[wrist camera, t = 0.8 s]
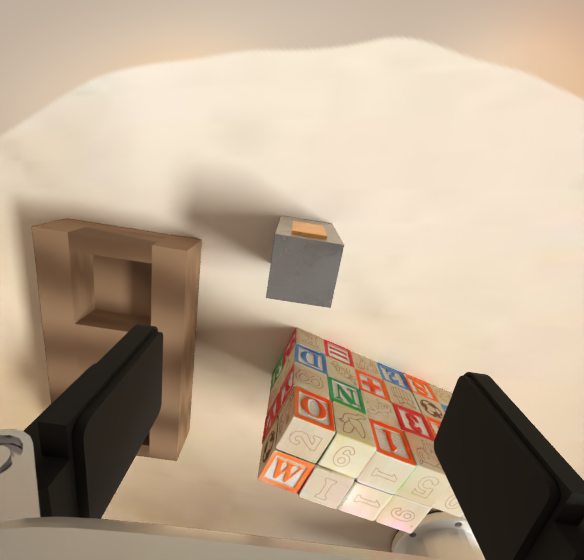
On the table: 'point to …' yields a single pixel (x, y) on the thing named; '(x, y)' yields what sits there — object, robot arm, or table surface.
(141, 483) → the table surface
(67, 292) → the wooden socket board
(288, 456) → the stack of blocks
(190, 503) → the table surface
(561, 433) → the table surface
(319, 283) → the loose billet
